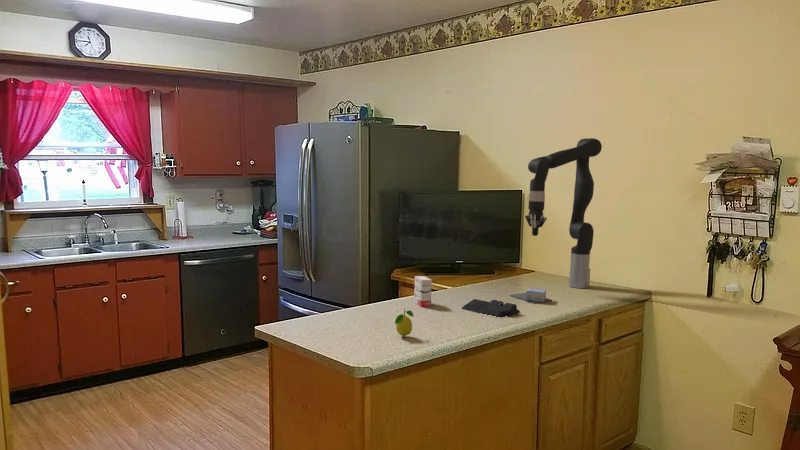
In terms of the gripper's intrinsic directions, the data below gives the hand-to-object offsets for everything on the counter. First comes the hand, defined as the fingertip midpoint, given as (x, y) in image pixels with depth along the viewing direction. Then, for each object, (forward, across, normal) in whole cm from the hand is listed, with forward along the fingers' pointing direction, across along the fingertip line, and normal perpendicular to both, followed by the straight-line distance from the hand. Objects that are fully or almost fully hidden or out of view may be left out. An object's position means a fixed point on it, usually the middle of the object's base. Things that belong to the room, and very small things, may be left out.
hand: (534, 235), depth 282 cm
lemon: (+27, -40, +97) cm, 108 cm away
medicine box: (+24, -16, +12) cm, 31 cm away
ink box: (+27, -3, +66) cm, 71 cm away
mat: (+27, -14, +14) cm, 33 cm away
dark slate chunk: (+28, -24, +45) cm, 58 cm away
